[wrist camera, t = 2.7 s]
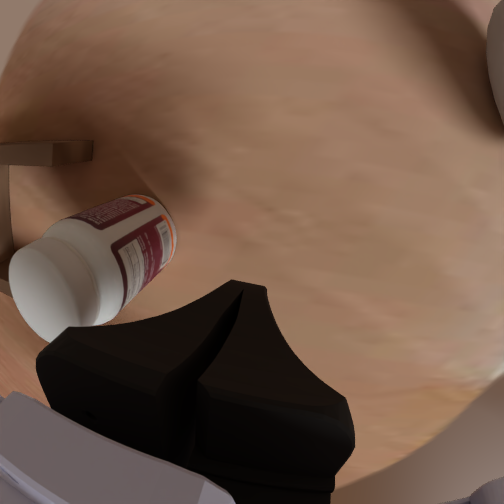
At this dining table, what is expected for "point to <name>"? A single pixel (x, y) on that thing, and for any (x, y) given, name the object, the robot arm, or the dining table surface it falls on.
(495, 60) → the donut
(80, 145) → the brown u-shaped block
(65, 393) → the robot arm
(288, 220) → the dining table surface
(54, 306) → the pill bottle
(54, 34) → the dining table surface
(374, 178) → the dining table surface
